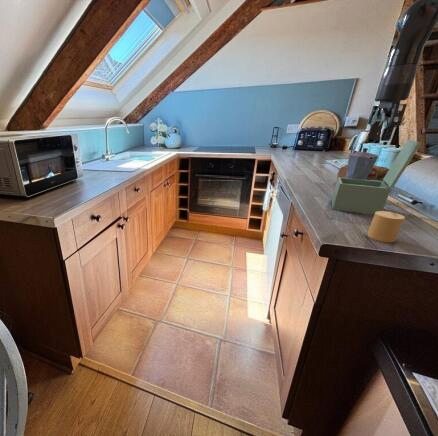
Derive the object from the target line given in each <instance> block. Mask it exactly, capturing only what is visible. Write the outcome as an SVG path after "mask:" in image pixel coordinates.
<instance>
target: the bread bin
mask: <svg viewBox="0 0 438 436" xmlns="http://www.w3.org/2000/svg"><path fill="white" fill-rule="evenodd" d="M335 183H336V184H335V187H334V190H333V194H332V197H331V208H332V210H336V211H341V212H342V211H343V212H350V213H357V214H364V215H371V216H374V215H375V212H377V211H384V208H385V206H386V203H387V200H388V198H389V195H390V193H391V190H392V187H390V186H388V185H387V184H386V183H385V182H384V181H375V180H363V179H352V178H340V177H338V179H337V178H336V182H335Z"/></svg>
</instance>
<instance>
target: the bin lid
mask: <svg viewBox="0 0 438 436" xmlns="http://www.w3.org/2000/svg"><path fill="white" fill-rule="evenodd" d="M421 145H422V143H421V142H419V141H416V140H412V139H406V141H405V143H404V144H403V146H402V148H401V150H399V152H398V154H397V156H396V158H395V159H394V161H393V162H392V164H391V166H390V167H389V168H388V169H389V171H388V172H387V174H386V176H385V177H384V179H383V180H384V181H385V182H386V183H387V184H388V185H389V187H390V188H391V189H392V188H394V187H395V185H396V184H397V183H398V181H399V180H400V179H401V178H400V177H401V176H402V175H403V173H404V171H405V170H406V168H407V167H408V165H409V164H410V162H411V160H412V159H413V157H414V156H415V154H417V151H418V150H419V148H420V147H421Z"/></svg>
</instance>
